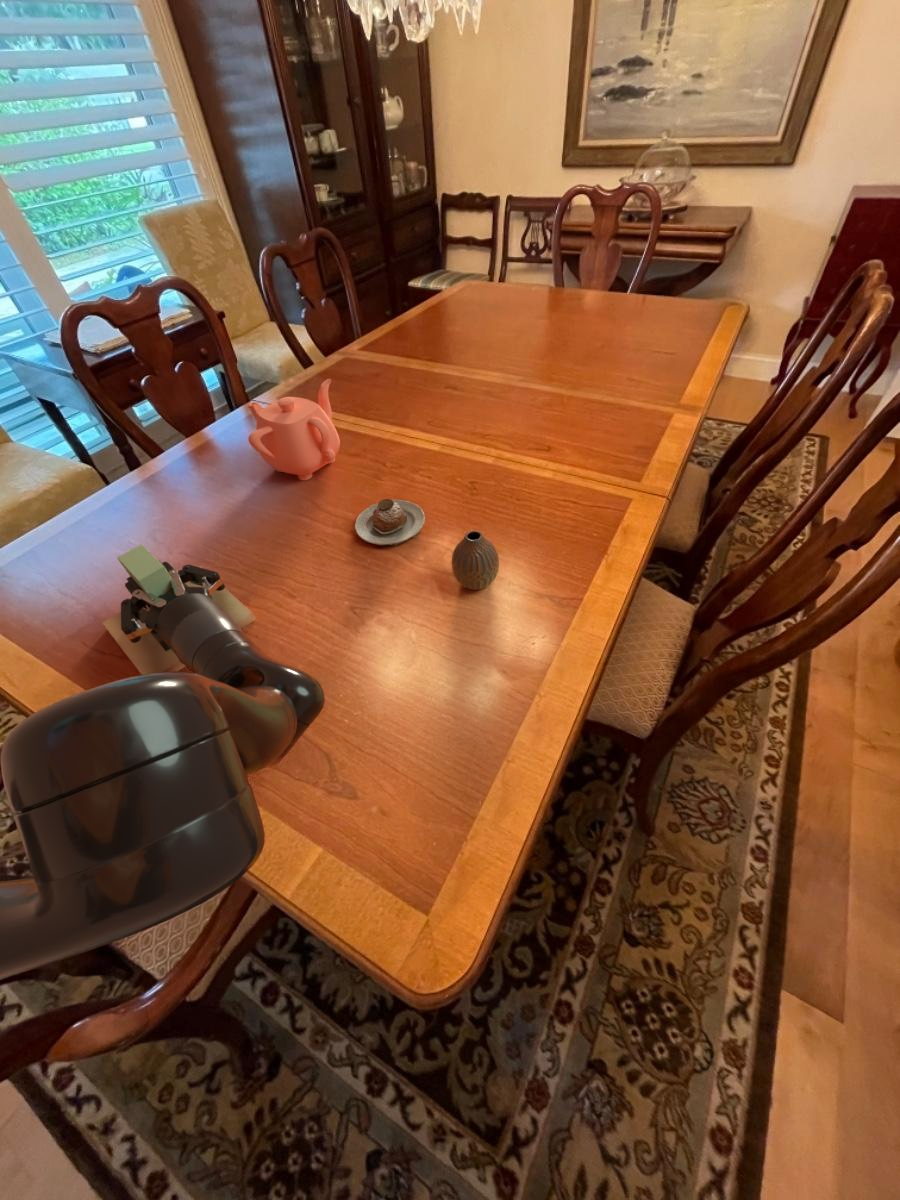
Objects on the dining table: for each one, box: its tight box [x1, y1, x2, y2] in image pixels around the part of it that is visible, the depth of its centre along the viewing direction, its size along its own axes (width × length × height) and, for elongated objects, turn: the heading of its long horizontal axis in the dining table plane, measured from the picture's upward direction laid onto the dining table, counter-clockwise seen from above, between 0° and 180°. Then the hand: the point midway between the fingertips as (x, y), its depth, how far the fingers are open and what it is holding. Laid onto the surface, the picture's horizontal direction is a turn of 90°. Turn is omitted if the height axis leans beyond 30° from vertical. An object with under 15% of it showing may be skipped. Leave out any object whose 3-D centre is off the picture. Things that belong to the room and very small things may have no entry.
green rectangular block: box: [116, 544, 173, 597], centre depth 74 cm, size 4×7×11 cm, turn 46°
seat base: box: [101, 565, 256, 675], centre depth 78 cm, size 16×16×4 cm
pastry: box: [354, 498, 426, 547], centre depth 90 cm, size 12×12×5 cm
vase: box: [451, 529, 500, 591], centre depth 77 cm, size 7×7×9 cm
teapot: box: [247, 378, 341, 481], centre depth 103 cm, size 16×17×14 cm
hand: (145, 574), depth 74 cm, fingers closed on green rectangular block, 3 cm apart
